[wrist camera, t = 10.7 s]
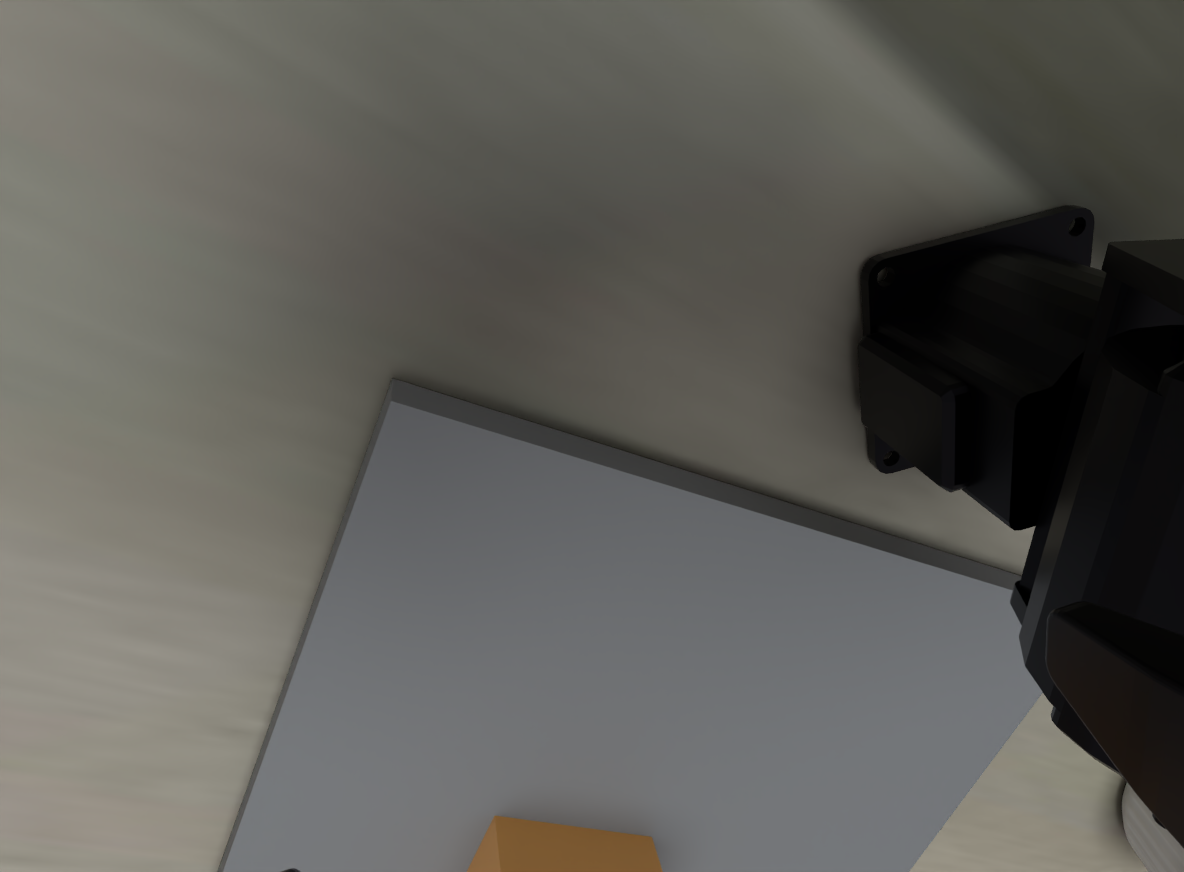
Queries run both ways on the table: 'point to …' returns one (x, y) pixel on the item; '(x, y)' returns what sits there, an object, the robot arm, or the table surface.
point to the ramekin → (1149, 836)
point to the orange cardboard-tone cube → (561, 849)
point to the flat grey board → (620, 666)
